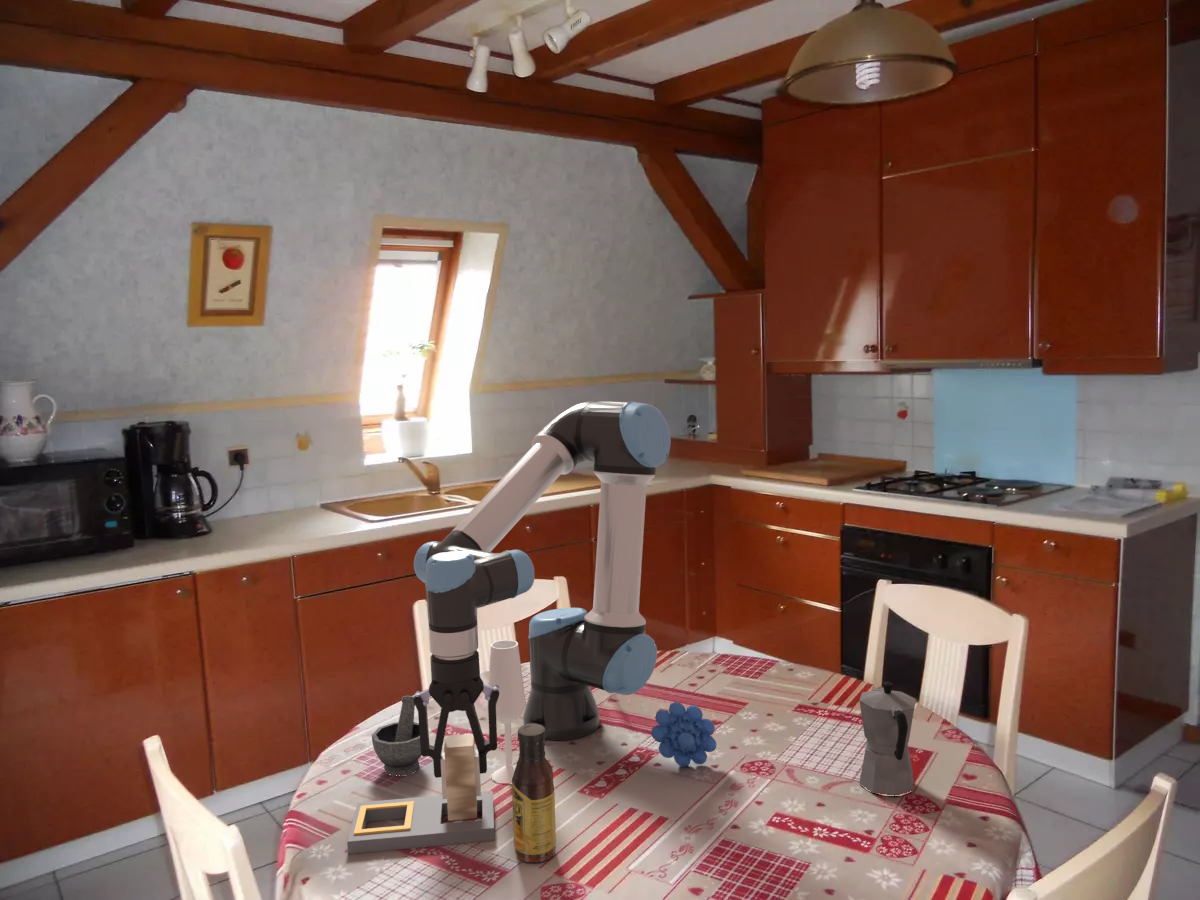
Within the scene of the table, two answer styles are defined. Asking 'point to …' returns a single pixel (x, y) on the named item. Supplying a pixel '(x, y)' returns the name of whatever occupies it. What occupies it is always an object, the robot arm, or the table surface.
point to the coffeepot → (887, 740)
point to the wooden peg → (460, 777)
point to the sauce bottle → (533, 798)
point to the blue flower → (684, 734)
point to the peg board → (417, 824)
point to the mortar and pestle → (399, 742)
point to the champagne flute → (507, 696)
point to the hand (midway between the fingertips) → (461, 793)
